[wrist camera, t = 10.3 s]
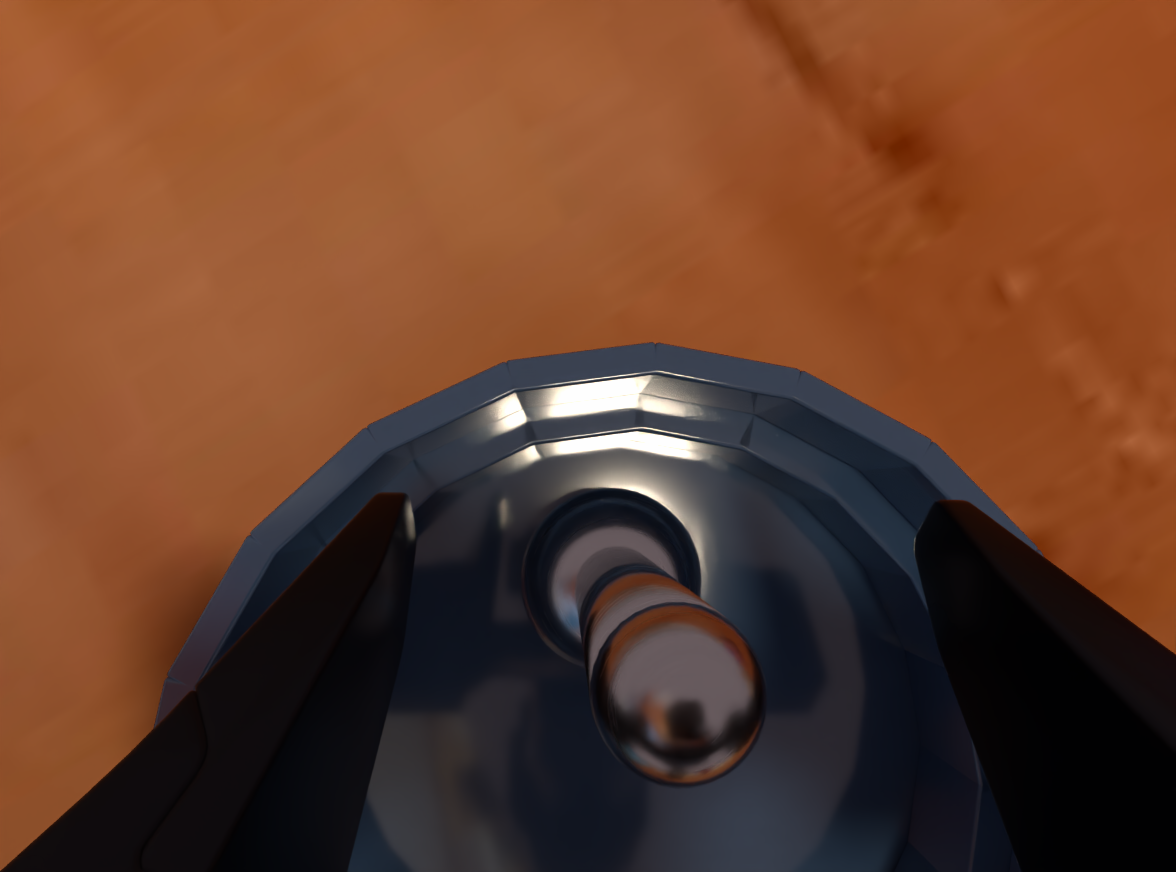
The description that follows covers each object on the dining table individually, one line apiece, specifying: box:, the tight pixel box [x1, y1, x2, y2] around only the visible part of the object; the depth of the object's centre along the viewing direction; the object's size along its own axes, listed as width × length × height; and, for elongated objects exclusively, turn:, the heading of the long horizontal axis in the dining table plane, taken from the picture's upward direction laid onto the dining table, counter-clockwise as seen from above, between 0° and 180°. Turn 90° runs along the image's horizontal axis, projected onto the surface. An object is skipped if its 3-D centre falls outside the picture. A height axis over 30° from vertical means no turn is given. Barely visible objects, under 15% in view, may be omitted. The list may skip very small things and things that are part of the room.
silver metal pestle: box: [521, 488, 767, 789], centre depth 11 cm, size 4×4×11 cm
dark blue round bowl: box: [154, 342, 1044, 872], centre depth 14 cm, size 17×17×6 cm
